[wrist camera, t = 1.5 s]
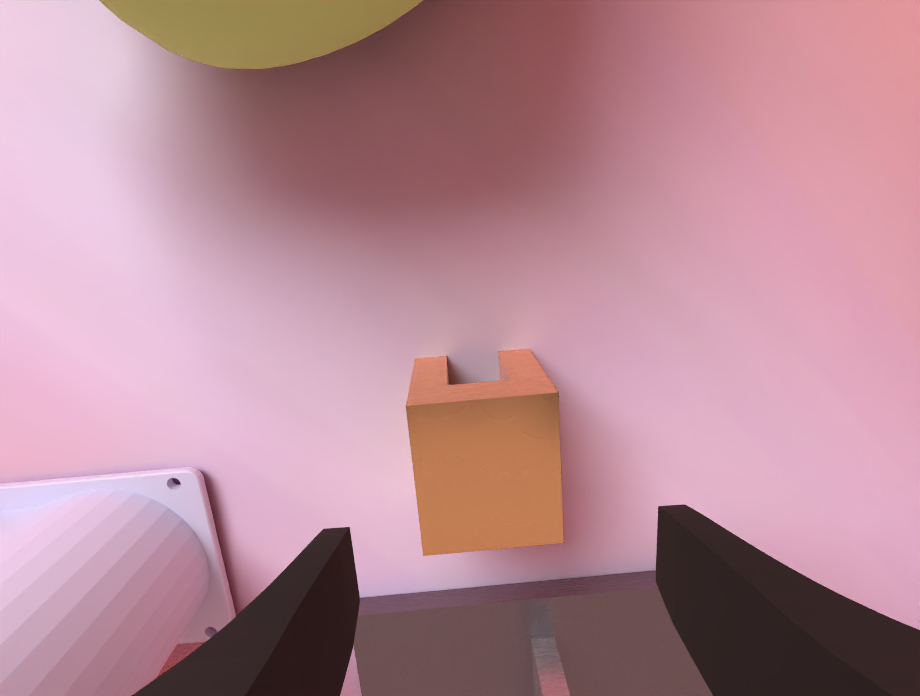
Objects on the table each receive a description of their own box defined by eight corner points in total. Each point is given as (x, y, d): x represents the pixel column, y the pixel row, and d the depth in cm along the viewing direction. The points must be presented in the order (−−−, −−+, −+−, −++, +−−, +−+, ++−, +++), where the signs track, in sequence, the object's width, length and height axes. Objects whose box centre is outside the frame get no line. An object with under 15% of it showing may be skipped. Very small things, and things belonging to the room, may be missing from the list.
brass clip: (428, 476, 20) (423, 555, 16) (415, 358, 19) (405, 405, 14) (535, 466, 21) (563, 542, 16) (529, 348, 19) (558, 392, 14)
